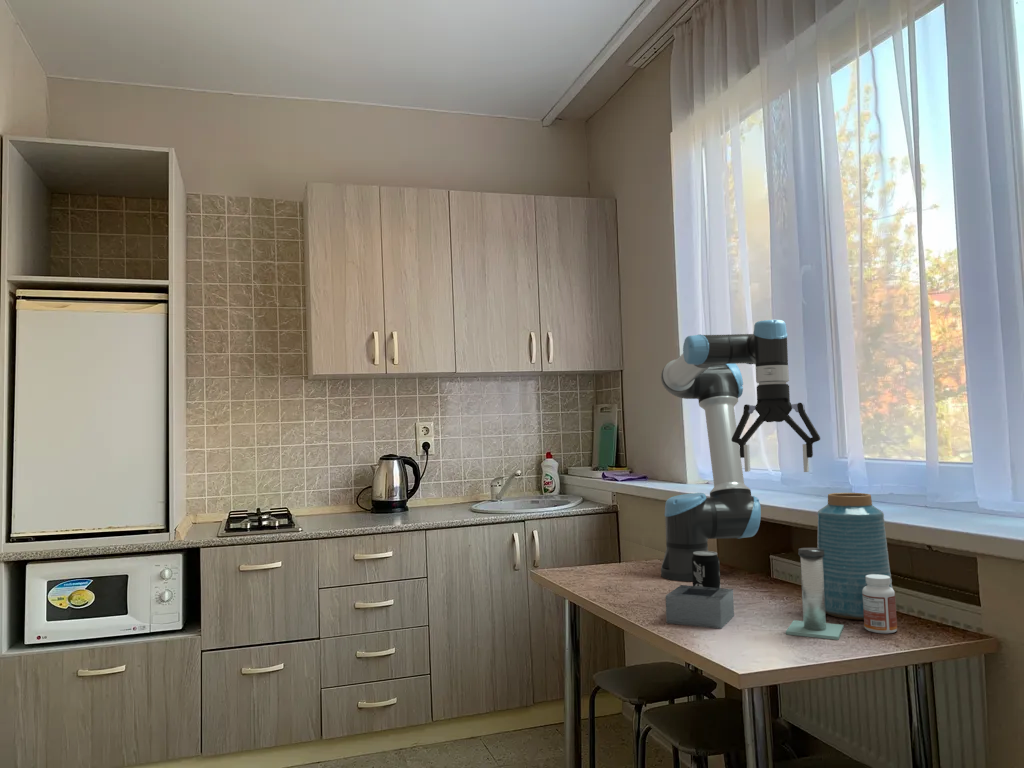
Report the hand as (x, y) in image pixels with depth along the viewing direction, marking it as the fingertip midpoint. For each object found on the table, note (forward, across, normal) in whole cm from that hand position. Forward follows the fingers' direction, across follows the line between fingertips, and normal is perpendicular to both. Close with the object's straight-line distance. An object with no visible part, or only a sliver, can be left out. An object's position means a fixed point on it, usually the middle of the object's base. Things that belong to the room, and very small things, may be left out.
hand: (776, 471), depth 183 cm
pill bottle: (+32, +22, -15) cm, 42 cm away
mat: (+32, +10, -21) cm, 39 cm away
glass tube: (+31, +10, -21) cm, 39 cm away
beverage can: (+32, -17, -4) cm, 36 cm away
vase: (+32, +16, -1) cm, 36 cm away
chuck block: (+32, -14, -21) cm, 41 cm away
